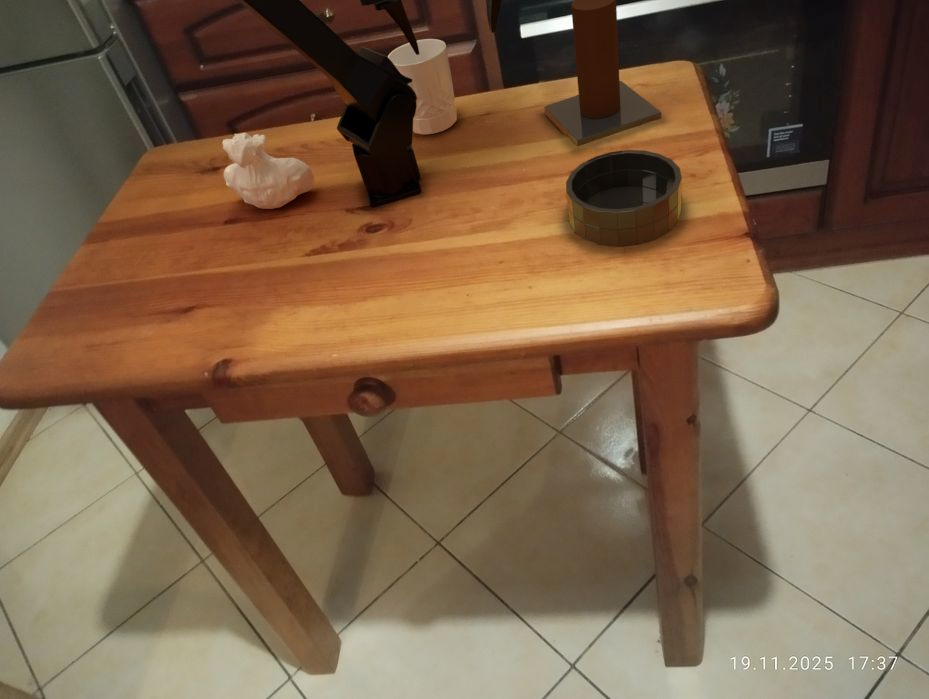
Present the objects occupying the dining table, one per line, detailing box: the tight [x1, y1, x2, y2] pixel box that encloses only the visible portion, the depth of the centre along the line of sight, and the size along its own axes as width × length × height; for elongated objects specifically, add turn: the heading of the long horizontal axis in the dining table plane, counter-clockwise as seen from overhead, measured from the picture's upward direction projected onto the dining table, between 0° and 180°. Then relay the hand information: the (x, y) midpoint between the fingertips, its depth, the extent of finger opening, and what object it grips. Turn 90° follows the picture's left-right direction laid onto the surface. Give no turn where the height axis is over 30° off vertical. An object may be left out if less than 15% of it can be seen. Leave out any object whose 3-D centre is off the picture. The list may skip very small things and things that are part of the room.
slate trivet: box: [543, 80, 662, 147], centre depth 86 cm, size 11×11×1 cm
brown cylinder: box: [570, 0, 620, 119], centre depth 81 cm, size 5×5×13 cm
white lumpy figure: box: [221, 132, 315, 210], centre depth 84 cm, size 12×8×11 cm
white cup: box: [387, 38, 458, 136], centre depth 91 cm, size 8×8×10 cm
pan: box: [565, 149, 683, 247], centre depth 69 cm, size 11×11×4 cm
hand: (455, 42), depth 79 cm, fingers open, 9 cm apart
